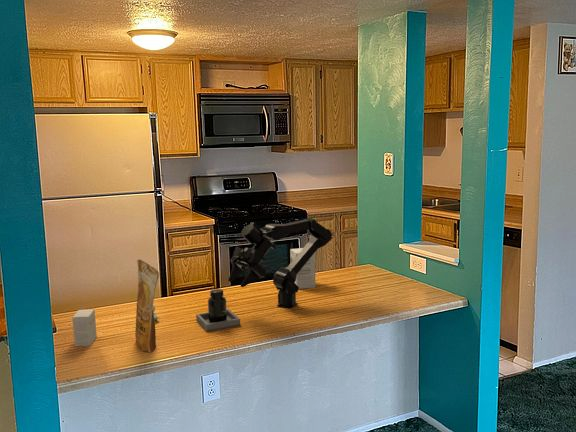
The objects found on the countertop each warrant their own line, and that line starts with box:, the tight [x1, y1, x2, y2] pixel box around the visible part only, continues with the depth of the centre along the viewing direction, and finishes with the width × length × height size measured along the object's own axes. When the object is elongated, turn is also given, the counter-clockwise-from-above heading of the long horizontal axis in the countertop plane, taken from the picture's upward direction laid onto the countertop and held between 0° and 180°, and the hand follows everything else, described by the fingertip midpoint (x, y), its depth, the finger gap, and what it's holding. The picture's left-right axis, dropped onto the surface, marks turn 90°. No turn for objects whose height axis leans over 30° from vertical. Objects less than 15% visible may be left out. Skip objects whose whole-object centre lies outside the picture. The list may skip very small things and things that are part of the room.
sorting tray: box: [195, 308, 241, 332], centre depth 205 cm, size 13×13×2 cm
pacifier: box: [152, 304, 160, 321], centre depth 209 cm, size 7×6×6 cm
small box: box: [72, 308, 98, 347], centre depth 189 cm, size 8×6×10 cm
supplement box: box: [289, 247, 316, 290], centre depth 250 cm, size 10×9×17 cm
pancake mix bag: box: [134, 259, 160, 353], centre depth 185 cm, size 7×19×28 cm, turn 26°
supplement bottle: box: [207, 288, 228, 323], centre depth 205 cm, size 7×7×12 cm
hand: (235, 283), depth 208 cm, fingers open, 9 cm apart
